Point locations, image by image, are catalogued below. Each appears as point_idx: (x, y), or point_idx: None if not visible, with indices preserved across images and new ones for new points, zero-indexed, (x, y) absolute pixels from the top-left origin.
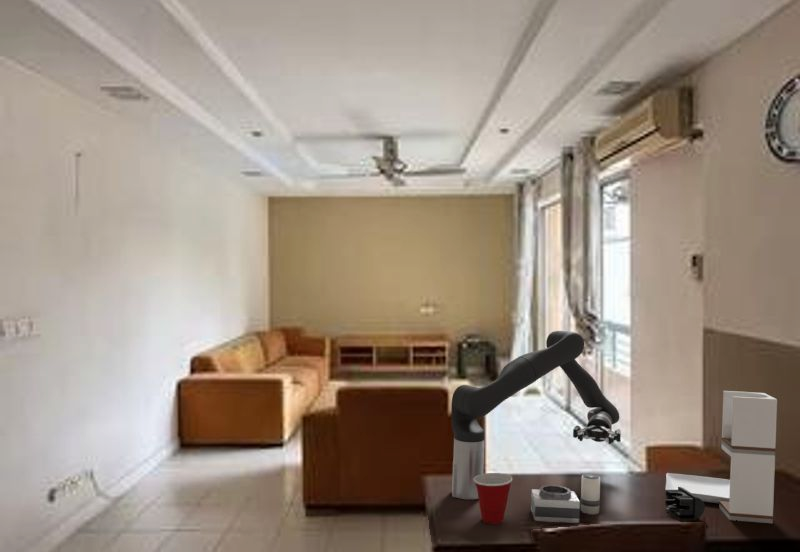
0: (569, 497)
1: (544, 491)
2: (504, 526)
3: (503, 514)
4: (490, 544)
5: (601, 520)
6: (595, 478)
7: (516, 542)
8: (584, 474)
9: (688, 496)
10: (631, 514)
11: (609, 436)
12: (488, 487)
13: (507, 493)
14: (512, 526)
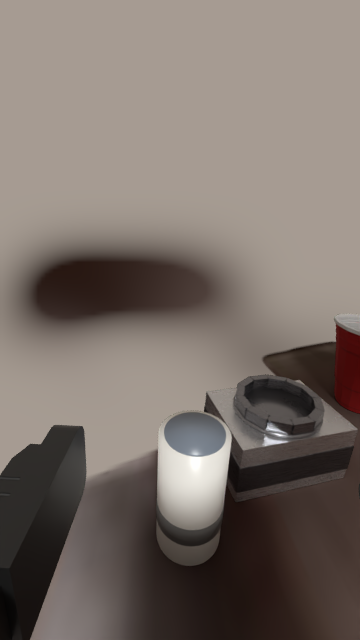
0: (234, 396)
1: (294, 382)
2: (319, 389)
3: (335, 384)
4: (293, 349)
5: (150, 467)
6: (175, 415)
7: (269, 358)
8: (225, 451)
9: None
10: None
11: (67, 434)
12: (358, 321)
13: (338, 346)
14: None
